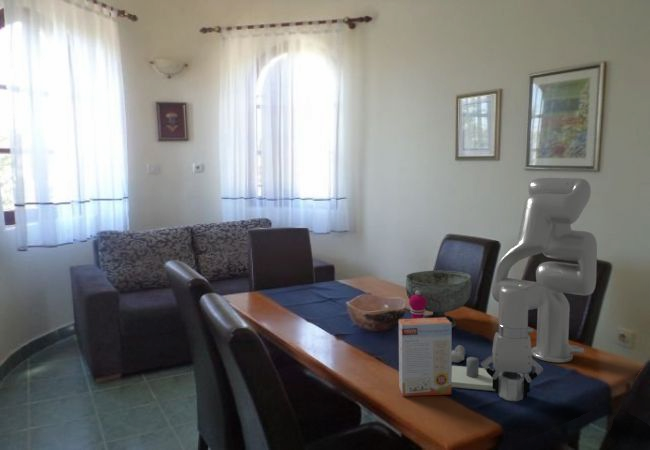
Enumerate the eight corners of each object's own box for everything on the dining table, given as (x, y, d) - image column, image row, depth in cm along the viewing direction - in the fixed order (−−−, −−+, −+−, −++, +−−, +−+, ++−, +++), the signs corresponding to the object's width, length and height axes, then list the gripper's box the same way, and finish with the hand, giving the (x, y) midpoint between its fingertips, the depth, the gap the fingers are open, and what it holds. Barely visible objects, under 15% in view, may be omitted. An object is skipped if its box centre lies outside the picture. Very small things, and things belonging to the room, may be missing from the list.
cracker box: (446, 385, 146) (447, 316, 143) (451, 395, 140) (453, 323, 137) (398, 387, 146) (398, 317, 143) (402, 397, 140) (402, 324, 137)
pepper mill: (427, 349, 174) (428, 293, 171) (406, 348, 175) (406, 292, 173) (427, 342, 181) (428, 288, 178) (407, 341, 182) (407, 287, 180)
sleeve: (521, 391, 142) (521, 371, 141) (523, 402, 136) (524, 380, 135) (497, 389, 143) (498, 369, 142) (499, 399, 137) (500, 378, 136)
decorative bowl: (472, 336, 185) (472, 282, 183) (402, 332, 191) (401, 281, 190) (471, 317, 210) (470, 270, 209) (409, 314, 217) (408, 269, 215)
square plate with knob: (492, 373, 154) (492, 353, 153) (494, 391, 142) (495, 369, 142) (451, 370, 157) (452, 350, 156) (451, 386, 145) (451, 365, 145)
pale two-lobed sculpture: (457, 368, 161) (443, 360, 164) (468, 360, 167) (455, 352, 170) (460, 357, 160) (447, 349, 163) (472, 349, 166) (458, 341, 169)
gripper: (544, 328, 138) (542, 390, 141) (478, 324, 143) (477, 384, 145) (549, 337, 131) (546, 402, 133) (479, 333, 136) (478, 395, 138)
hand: (510, 392), depth 139 cm, fingers open, 6 cm apart
